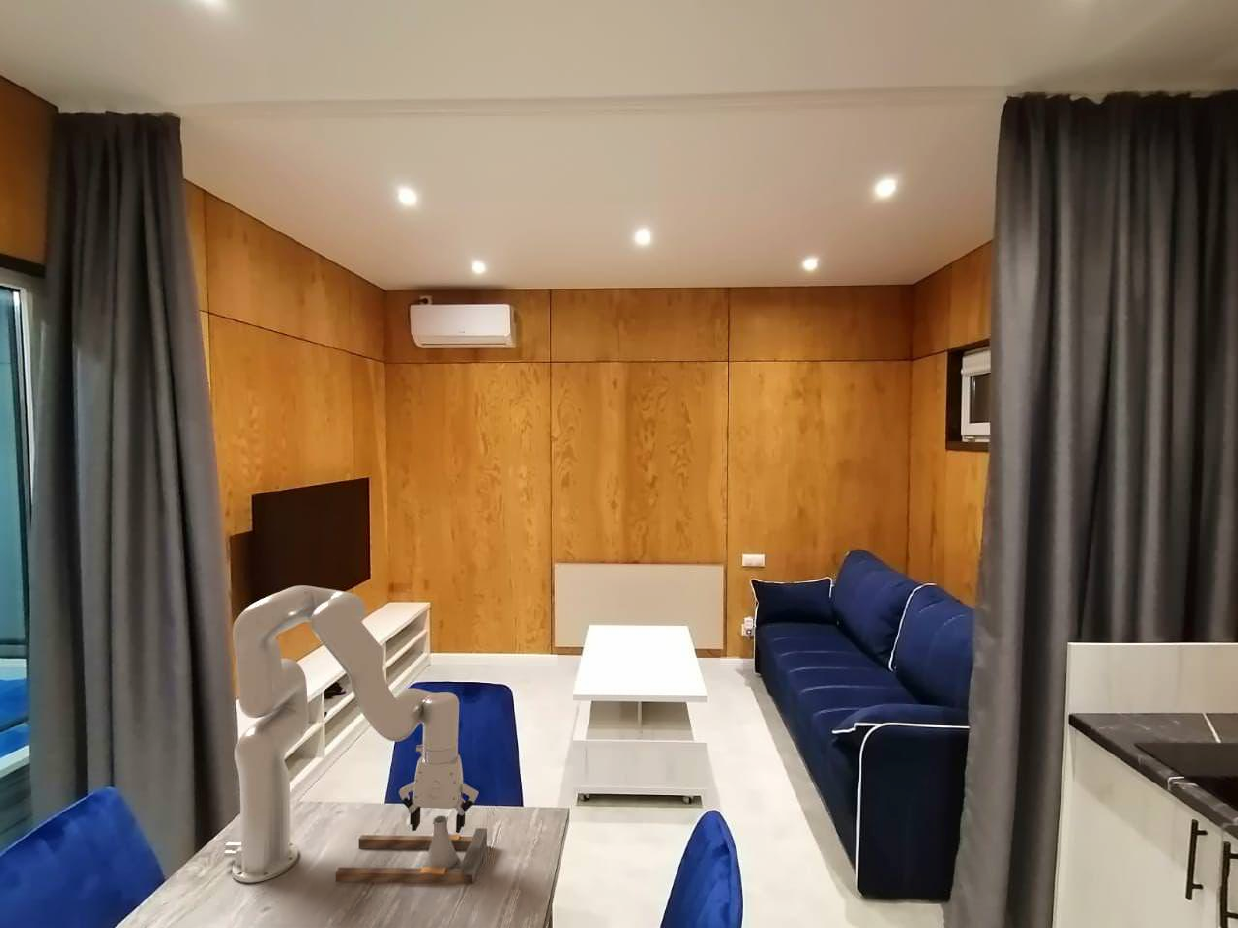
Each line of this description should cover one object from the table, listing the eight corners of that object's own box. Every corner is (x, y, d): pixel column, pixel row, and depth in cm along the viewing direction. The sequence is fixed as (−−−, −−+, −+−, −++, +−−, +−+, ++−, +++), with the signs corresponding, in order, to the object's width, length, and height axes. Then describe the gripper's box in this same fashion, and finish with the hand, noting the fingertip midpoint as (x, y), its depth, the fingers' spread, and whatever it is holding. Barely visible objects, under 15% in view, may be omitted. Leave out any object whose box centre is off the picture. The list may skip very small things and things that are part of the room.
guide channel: (335, 881, 129) (335, 862, 129) (361, 843, 142) (361, 826, 142) (473, 883, 129) (473, 864, 128) (487, 845, 141) (487, 828, 141)
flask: (447, 876, 131) (447, 830, 131) (417, 872, 132) (417, 826, 132) (463, 855, 138) (463, 811, 138) (433, 850, 139) (433, 807, 139)
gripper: (394, 758, 131) (392, 837, 131) (474, 761, 131) (472, 840, 131) (407, 741, 138) (405, 816, 139) (483, 745, 138) (480, 819, 138)
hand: (437, 828), depth 135 cm, fingers open, 9 cm apart
